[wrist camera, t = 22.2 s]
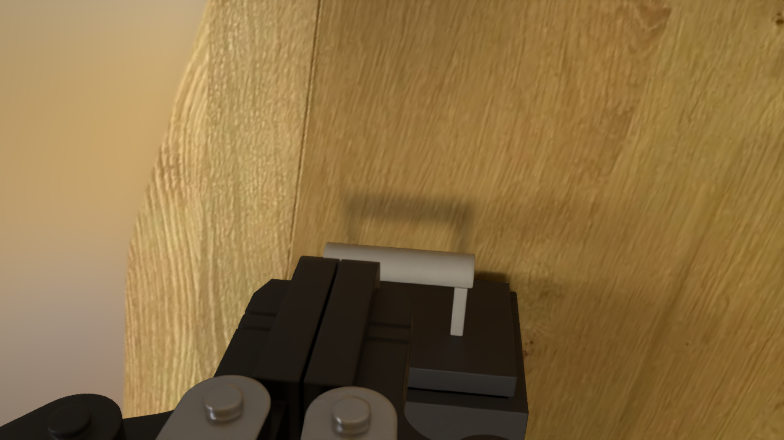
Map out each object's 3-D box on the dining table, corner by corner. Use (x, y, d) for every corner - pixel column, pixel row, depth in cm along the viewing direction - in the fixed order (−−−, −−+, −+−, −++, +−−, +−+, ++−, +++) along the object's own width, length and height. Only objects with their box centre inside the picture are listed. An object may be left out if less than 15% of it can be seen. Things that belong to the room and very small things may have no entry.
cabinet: (295, 273, 41) (248, 386, 33) (516, 291, 40) (528, 413, 32) (301, 456, 48) (264, 589, 40) (489, 476, 47) (494, 616, 39)
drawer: (299, 194, 38) (260, 274, 31) (518, 211, 37) (529, 297, 30) (306, 441, 46) (277, 547, 39) (484, 460, 45) (487, 571, 38)
